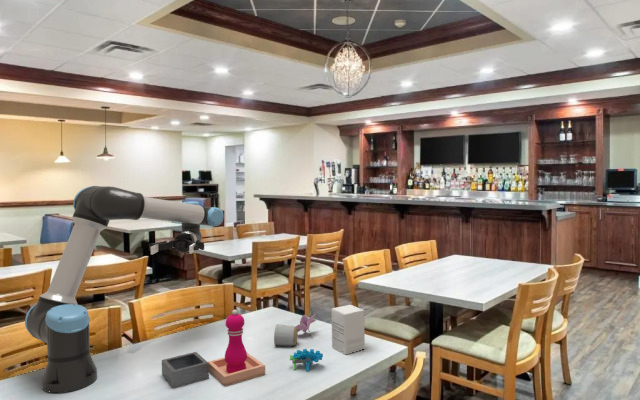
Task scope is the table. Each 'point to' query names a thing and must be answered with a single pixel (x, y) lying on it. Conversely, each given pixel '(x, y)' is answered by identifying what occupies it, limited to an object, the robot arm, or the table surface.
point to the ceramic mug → (285, 335)
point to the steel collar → (185, 369)
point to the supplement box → (348, 329)
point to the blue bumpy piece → (305, 357)
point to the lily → (305, 323)
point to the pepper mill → (235, 344)
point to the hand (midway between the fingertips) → (171, 250)
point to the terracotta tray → (251, 371)
